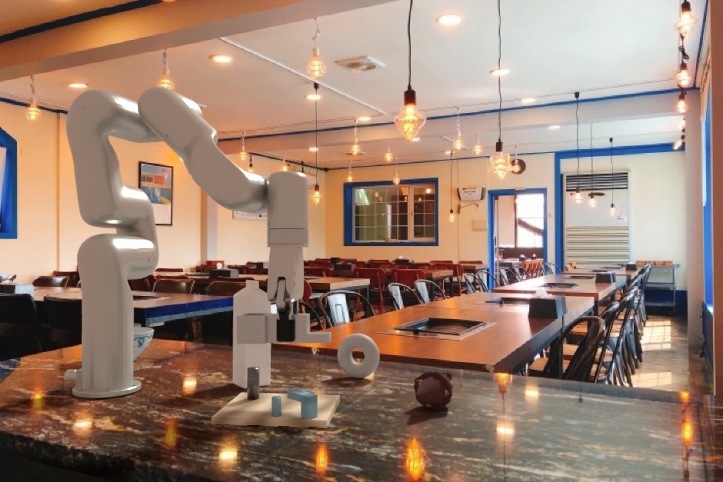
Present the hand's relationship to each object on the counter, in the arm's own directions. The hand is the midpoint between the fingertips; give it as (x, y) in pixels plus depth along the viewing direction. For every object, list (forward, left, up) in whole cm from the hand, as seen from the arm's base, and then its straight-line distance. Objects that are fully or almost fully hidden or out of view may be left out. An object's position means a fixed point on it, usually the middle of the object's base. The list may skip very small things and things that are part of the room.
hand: (287, 339), depth 103 cm
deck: (0, -4, -12) cm, 13 cm away
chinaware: (-51, +37, -12) cm, 65 cm away
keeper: (+3, -10, -12) cm, 16 cm away
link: (-1, 0, -1) cm, 1 cm away
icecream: (+26, +1, -13) cm, 29 cm away
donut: (+11, +24, -12) cm, 29 cm away
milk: (-11, +16, -12) cm, 23 cm away
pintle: (-6, 0, -11) cm, 13 cm away
